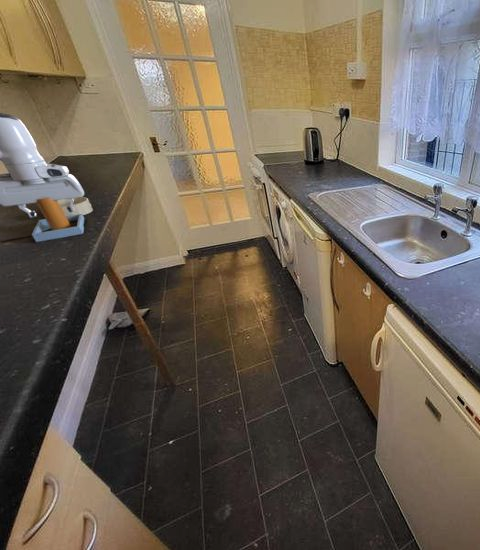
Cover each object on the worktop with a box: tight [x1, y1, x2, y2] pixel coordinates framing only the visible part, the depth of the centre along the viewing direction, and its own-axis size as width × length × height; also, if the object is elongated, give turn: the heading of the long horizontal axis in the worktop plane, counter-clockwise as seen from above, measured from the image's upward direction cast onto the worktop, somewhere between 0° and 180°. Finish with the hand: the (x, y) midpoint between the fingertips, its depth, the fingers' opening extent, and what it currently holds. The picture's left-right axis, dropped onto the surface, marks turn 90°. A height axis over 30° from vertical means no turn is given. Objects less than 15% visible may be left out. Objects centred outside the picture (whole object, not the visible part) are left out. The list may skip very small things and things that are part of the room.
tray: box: [31, 214, 85, 243], centre depth 102 cm, size 12×16×3 cm
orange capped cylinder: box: [36, 198, 72, 231], centre depth 98 cm, size 5×5×15 cm
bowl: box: [57, 196, 94, 216], centre depth 114 cm, size 13×13×5 cm
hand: (53, 214), depth 99 cm, fingers open, 8 cm apart
